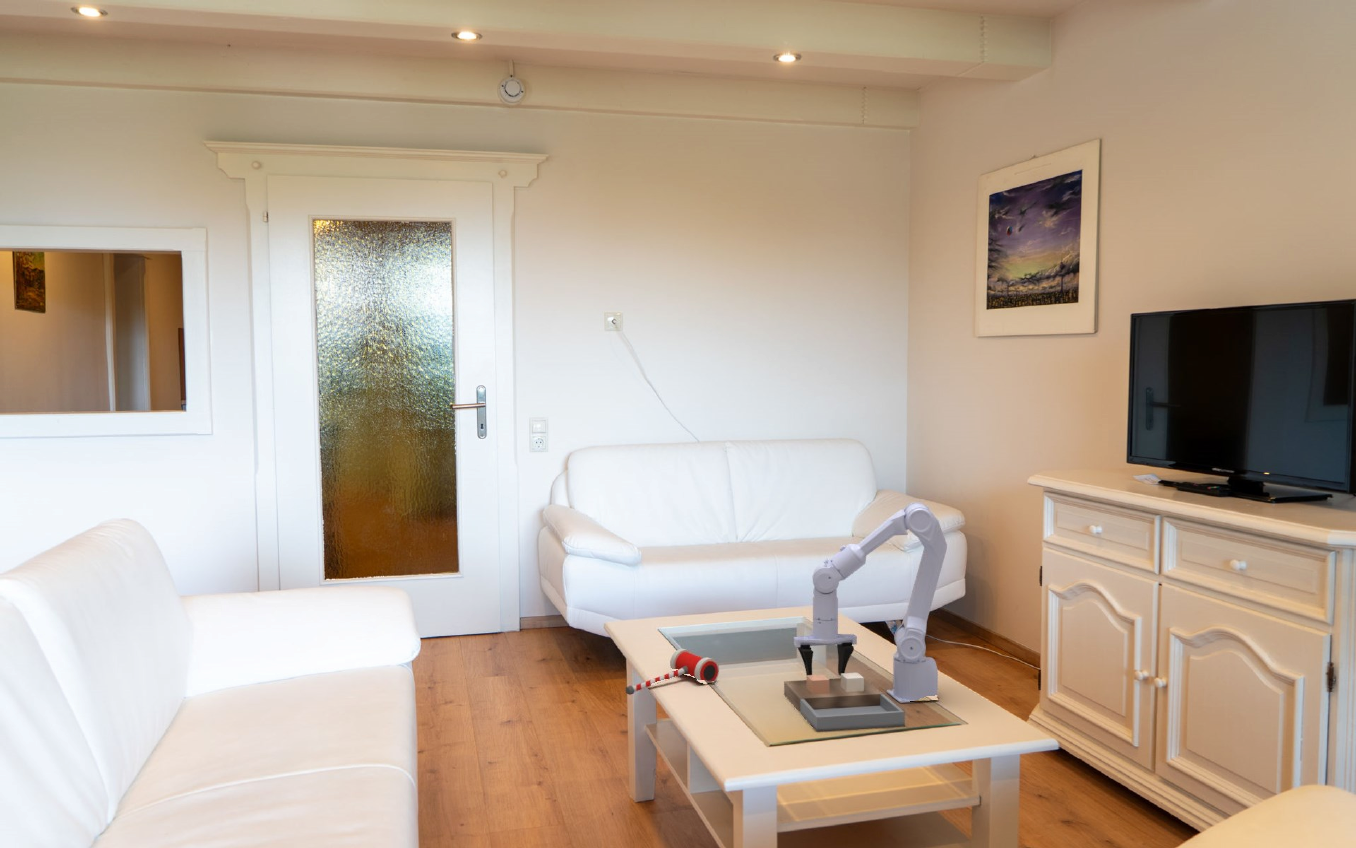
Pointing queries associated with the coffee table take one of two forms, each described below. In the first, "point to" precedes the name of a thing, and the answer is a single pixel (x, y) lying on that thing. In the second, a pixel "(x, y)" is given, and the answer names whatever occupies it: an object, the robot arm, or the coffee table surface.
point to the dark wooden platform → (832, 695)
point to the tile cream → (852, 682)
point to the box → (854, 716)
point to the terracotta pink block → (817, 684)
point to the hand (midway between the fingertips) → (825, 676)
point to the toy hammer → (684, 669)
